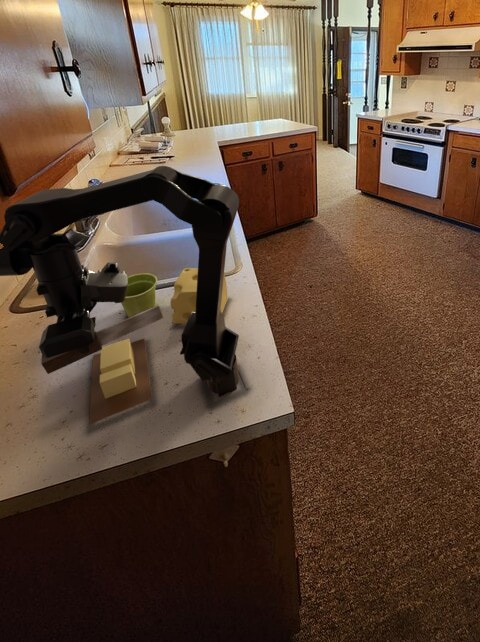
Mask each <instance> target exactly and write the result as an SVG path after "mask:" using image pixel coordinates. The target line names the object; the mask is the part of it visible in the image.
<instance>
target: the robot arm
mask: <svg viewBox="0 0 480 642" xmlns="http://www.w3.org/2000/svg"><path fill="white" fill-rule="evenodd" d="M152 201H154V202H155V203H158V204H160V205H162V206H163V207H165V209H167V210H168V211H169V213H171V214H173V216H174V217H176V218H177V219H178V220H180V221H182V222H184V223H186V224H189V225H190V226H191V230H192V237H193V239H194V241H195V243H196V245H197V248H198V261H197V262H198V263H197V268H198V276H197V293H196V310H195V313H194V312H191V314H190V316H189V319H188V321H187V323H185V325H184V328H183V331H182V333H181V344H182V345H181V346H182V348H181V350H180V352H179V355H180V356H182V355H183V359H184V362H185V363H186V364H189V365H190V367H191V369H193V371H194V372H195V374H196V375H197V376H198V377H199V379H200V380H201V381H202V382H203V381H206V383H207V386H208V390H209V391H210V392H211V393H213V394H215V395H216V394H217V397H219V398H221V397H223V396H225V395H227V394H230V393H232V392H235V391H237V390H238V387H237V385H238V384H239V381H240V379H241V382H242V384H243V387H244V388H246V385H245V382H244V380H243V378H242V375H241V373H240V371H239V365H238V360H237V355H236V351H237V346H238V342H239V337H240V335H239V334H238V333H236V332H235V331H233V330H231V329H230V328H228V327H227V326H226V322H225V321H226V320H225V316H224V315H223V312H222V313H221V300H222V289H223V279H224V273H225V267H226V257H227V246H228V240H229V237H230V235H231V231H232V228H233V225H234V222H235V219H236V215H237V212H238V209H239V207H240V206H239V205H240V198H239V196H238V194H237V193H236V192H235V191H234V190H233V189H232V188H231V187H229V186H227V185H223V184H215V183H213V182H212V181H210V180H207V179H206V178H203V177H199V176H195V175H192V174H189V173H188V174H187V173H184V172H181V171H180V170H178V169H175V168H173V167H170V166H167V165H159V166H156V167H154V168H153V169H150V170H146V171H142V172H139V173H136V174H131V175H128V176H125V177H124V176H123V177H120V178H116V179H113V180H109V181H105V182H102V183H97V184H94V185H91V186H86V187H83V188H75V189H73V188H68V187H67V188H66V187H59V188H50V189H49V188H48V189H41V190H40V191H39V190H38V191H37V192H35V193H33V194H31V195H29V196H28V197H25V198H23V199H21V200H19V201H18V202H15V203H14V204H12V205H10V206H8V207H7V208H6V209H4V215H3V217H4V225H3V227H2V230H1V231H0V232H1V234H0V243H1V244H3V246H4V247H3V248H2V249H0V277H11V276H12V277H13V276H24V275H26V274H29V272H30V271H31V270H33V272H34V275H35V277H36V280H37V283H38V284H37V286H36V293H37V295H38V296H43V298H44V301H45V303H46V308H45V312H44V314H45V316H46V318H50V317H55V316H56V322H55V323H51V324H48V325H47V326H46V327H45V328H44V330H43V331H42V333H41V336H40V337H41V338H40V341H39V345H38V348H39V351H40V353H41V357H42V356H43V357H45V358H49V357H53V356H56V355H59V354H62V353H66V352H69V351H72V350H76V351H77V352H79V353H81V354H85V353H88V352H89V351H90V347H89V345H90V344H91V343H93V342H94V334H95V331H96V330H95V327H96V323H97V322H96V319H97V316H92V317H91V312H92V311H93V310H94V308H95V307H96V306H97V305H98V303H115V304H121V302H123V301H124V300H125V295H126V290H127V285H128V280H127V277H128V275H127V274H126V273H125V270H122V271H121V269H120V267H119V264H118V263H117V262H113V261H112V262H111V261H109V262H108V261H107V262H106V264H105V265H104V266H103V267H102V268H101V269H98V270H97V272H95V271H92V270H90V269H88V266H85V264H82V263H81V259H80V257H79V254H78V253H79V252H78V251H77V249H78V248H79V247H81V245H83V244H84V243H85V242H86V241H87V240H88V239H89V235H87V234H84V233H83V232H79V231H77V230H75V229H74V228H68V229H67V230H66V231H65V232H63V233H58V232H61V230H63V229H65V228H67V227H69V226H71V225H73V224H74V223H77V222H78V221H81V220H83V219H88V218H91V217H95V216H99V215H104V214H107V213H111V212H114V211H119V210H122V209H125V208H130V207H133V206H137V205H141V204H145V203H148V202H152Z"/></svg>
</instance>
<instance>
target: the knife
mask: <svg viewBox="0 0 480 642" xmlns="http://www.w3.org/2000/svg"><path fill="white" fill-rule="evenodd" d="M162 319H164V316H163V314H162V311H161V308H160V306H159V305H156V306H155V307H153V308H151V309H148V310H146V311H144V312H141V313H139V314H137V315H134V316H132V317H130V318H129V317H127V318H126V319H122V320H121V321H118V322H117V323H116V322H115V323H114V324H112V325H109V326H107V327H105V328H102V329H100V330H98V331H96V330H95V334H94V342H93V343H91V344H90V345H89V347H90V351H89V352H88V353H85V354H81V353H79V352H77V351H76V350H72V351H69V352H66V353H62V354H59V355H56V356H53V357H49V358H45V357H43V356H42V355H41V366H42V368H43V369H44V371H45V372H46V374H47V375H49V374H52V373H54V372H56V371H59V370H61V369H62V368H65V367H67V366H69V365H72V364H73V363H76V362H78V361H80V360H82V359H84V358H87V357H88V356H91V355H94V354H95V353H97V352H99V351H100V352H101V350H102V347H104V346H106V345H107V344H109V343H111V342H113V341H116V340H118V339H120V338H123V337H125V336H127V335H129V334H131V333H133V332H135V331H138V330H140V329H143V328H144V327H147V326H149V325H151V324H153V323H156V322H159V321H160V320H162Z"/></svg>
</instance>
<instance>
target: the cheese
mask: <svg viewBox="0 0 480 642" xmlns="http://www.w3.org/2000/svg"><path fill="white" fill-rule="evenodd" d="M197 276H198V267H197V268H195V267H194V268H193V267H185V268H183V270H182V271H181V273H180V274H179V276H178V277H177V279H176V280H175V282H174V284H173V289H174V292H173V295H172V297H171V298H170V308H171V309H172V310H173V313H172V316H171V318H172V322H173V324H174V325H178V324H186V323H187V321H188V319H189V316H190V314H191V312H194V313H195V310H196V293H197ZM227 286H228V285H227V279H226V274H225V272H224V279H223V289H222V300H221V313H222V314H223V311H224V310H225V307H226V304H227V302H228V300H229V299H228V297H229V296H228V287H227Z"/></svg>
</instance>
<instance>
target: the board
mask: <svg viewBox="0 0 480 642" xmlns="http://www.w3.org/2000/svg"><path fill="white" fill-rule="evenodd" d="M130 343H131V346H132V349H133V353H134V364H135V374H134V375H135V379H136V387H135V388H132V389H130V390H127V391H124V392H122V393H119V394H117V395H114V396H111V397H109V398H106V399H105V397H104V394H103V391H102V388H101V386H100V375H101V374H102V373H101V370H100V357H101V352H99V353H96V354H92V370H91V371H92V372H91V386H90V404H89V420H88V423H89V425H91V424H94V423H97V422H99V421H102V420H104V419H106V418H109V417H111V416H113V415H116V414H118V413H121V412H124V411H127V410H129V409H131V408H134V407H137V406H139V405H141V404H143V403H146V402H149V401H151V400H152V399H153V396H152V388H151V387H152V386H151V380H150V371H149V370H150V369H149V363H148V353H147V347H146V338H141V339H138V340H134V341H132V342H130Z"/></svg>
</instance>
